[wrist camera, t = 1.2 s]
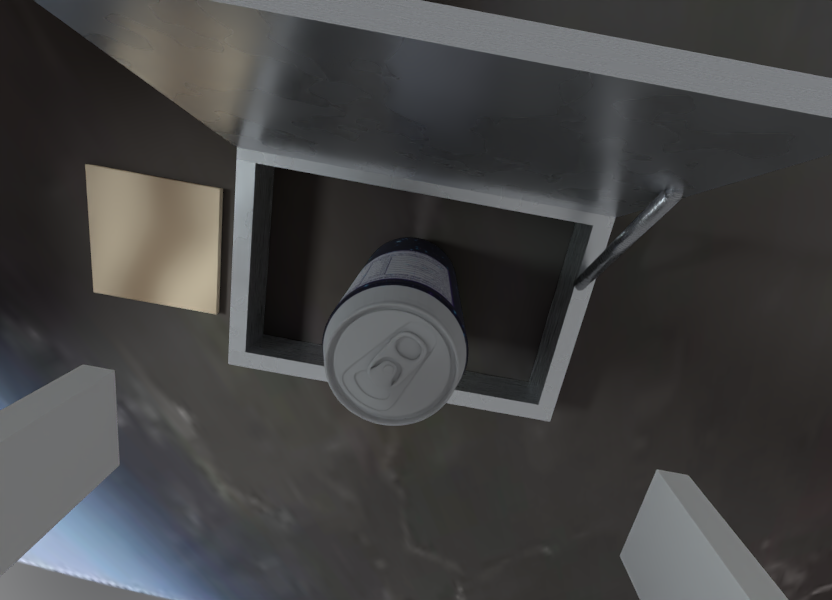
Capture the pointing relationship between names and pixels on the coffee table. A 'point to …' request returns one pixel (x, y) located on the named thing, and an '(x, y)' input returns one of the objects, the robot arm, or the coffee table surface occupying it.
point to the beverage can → (398, 336)
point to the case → (457, 131)
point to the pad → (155, 238)
